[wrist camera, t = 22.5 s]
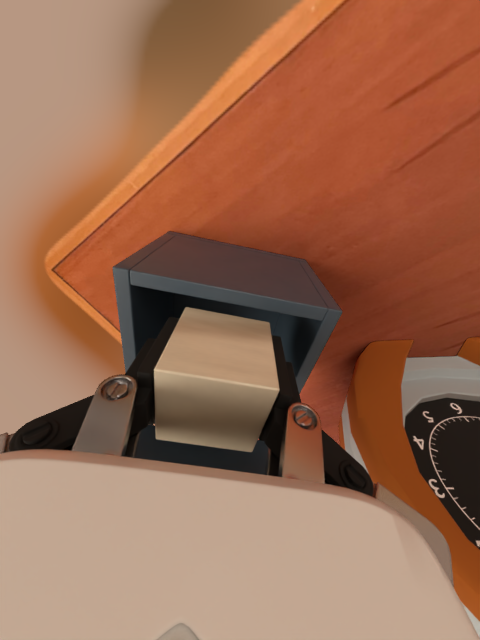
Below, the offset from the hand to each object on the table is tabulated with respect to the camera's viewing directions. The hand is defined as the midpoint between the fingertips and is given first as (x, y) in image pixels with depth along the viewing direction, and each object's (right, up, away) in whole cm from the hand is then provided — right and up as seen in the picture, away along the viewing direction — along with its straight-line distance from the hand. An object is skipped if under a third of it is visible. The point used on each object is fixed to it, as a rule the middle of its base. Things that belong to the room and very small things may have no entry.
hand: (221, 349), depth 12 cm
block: (0, 0, 0) cm, 0 cm away
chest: (0, +3, +10) cm, 10 cm away
